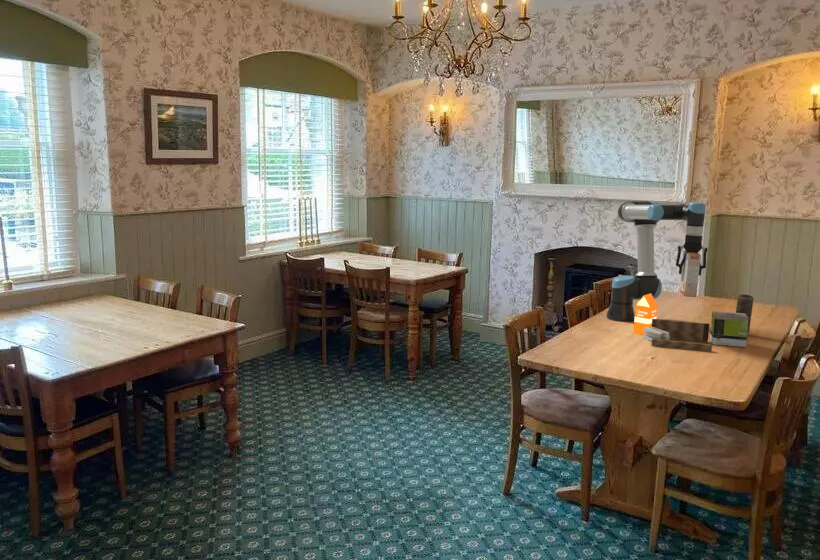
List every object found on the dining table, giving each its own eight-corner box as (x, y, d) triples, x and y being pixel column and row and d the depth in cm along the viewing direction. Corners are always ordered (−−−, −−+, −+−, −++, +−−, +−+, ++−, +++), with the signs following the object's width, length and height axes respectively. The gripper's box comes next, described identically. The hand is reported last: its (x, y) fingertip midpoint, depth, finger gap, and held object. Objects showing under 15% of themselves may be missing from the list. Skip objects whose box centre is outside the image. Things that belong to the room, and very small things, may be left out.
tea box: (742, 342, 326) (746, 312, 324) (746, 347, 317) (749, 317, 314) (709, 339, 331) (712, 310, 328) (711, 344, 321) (714, 314, 319)
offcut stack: (659, 345, 318) (660, 333, 317) (642, 339, 330) (643, 327, 329) (669, 344, 320) (670, 332, 319) (652, 338, 331) (653, 326, 330)
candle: (749, 333, 344) (753, 295, 340) (749, 336, 337) (754, 297, 334) (732, 331, 347) (736, 293, 344) (732, 334, 341) (737, 296, 337)
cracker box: (697, 297, 323) (701, 254, 319) (683, 296, 324) (688, 254, 320) (691, 291, 337) (696, 250, 332) (678, 290, 338) (683, 249, 334)
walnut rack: (651, 345, 317) (653, 327, 315) (650, 336, 334) (652, 318, 333) (711, 351, 309) (713, 332, 308) (707, 341, 327) (709, 323, 325)
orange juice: (655, 332, 341) (658, 294, 338) (647, 336, 335) (651, 296, 331) (640, 330, 346) (643, 292, 343) (632, 333, 340) (636, 294, 337)
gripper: (673, 234, 324) (668, 281, 329) (716, 236, 318) (710, 284, 323) (672, 232, 331) (667, 278, 336) (714, 235, 325) (709, 281, 330)
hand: (688, 281), depth 329 cm, fingers closed on cracker box, 6 cm apart
